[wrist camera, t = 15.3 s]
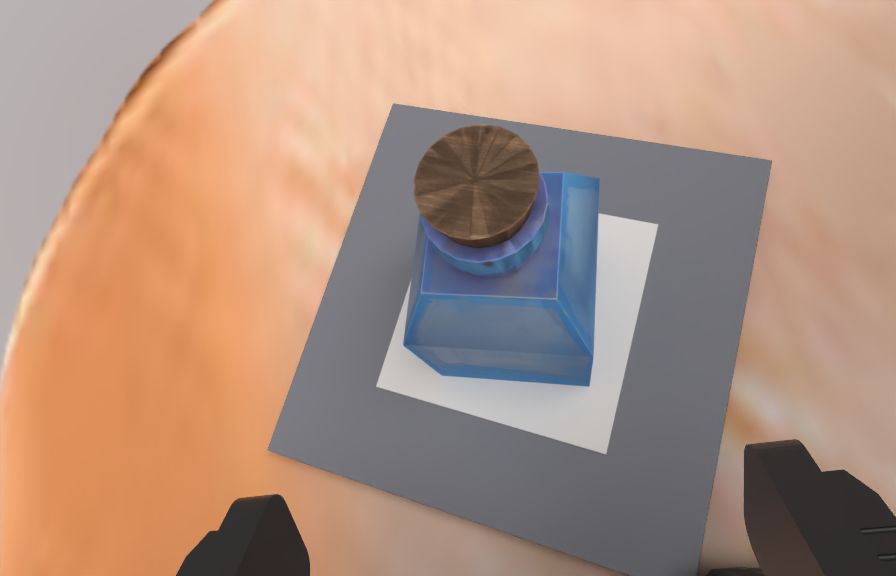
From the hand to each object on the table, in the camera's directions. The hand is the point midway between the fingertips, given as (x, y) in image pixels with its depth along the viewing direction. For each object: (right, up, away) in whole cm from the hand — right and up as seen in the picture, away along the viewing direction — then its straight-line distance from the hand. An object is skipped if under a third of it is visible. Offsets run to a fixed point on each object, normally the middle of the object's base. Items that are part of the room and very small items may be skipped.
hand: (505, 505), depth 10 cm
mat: (+2, +3, +17) cm, 17 cm away
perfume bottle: (+2, +3, +16) cm, 16 cm away
